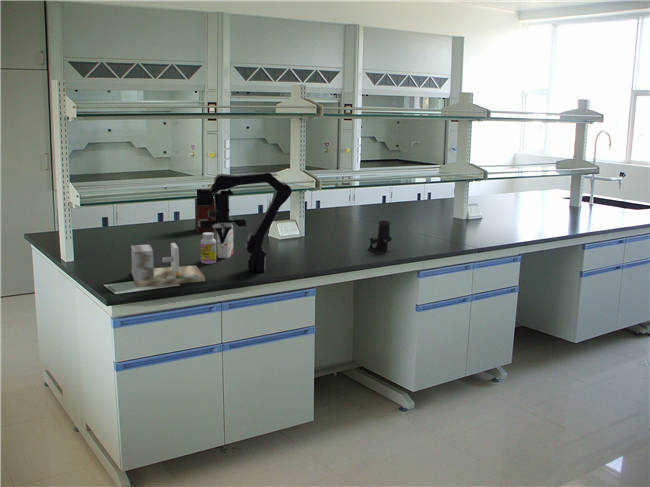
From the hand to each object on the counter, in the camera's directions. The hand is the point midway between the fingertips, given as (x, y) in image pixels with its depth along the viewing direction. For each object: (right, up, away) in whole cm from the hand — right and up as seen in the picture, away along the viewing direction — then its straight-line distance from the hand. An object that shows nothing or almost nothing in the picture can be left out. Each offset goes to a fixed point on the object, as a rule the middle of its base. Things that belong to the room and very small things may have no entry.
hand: (222, 243), depth 265 cm
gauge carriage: (-19, -12, -10) cm, 24 cm away
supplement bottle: (-9, -8, +17) cm, 21 cm away
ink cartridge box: (-3, -6, +28) cm, 29 cm away
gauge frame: (-20, -13, -8) cm, 26 cm away
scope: (+69, -3, +49) cm, 85 cm away
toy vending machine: (-22, +7, +81) cm, 84 cm away
